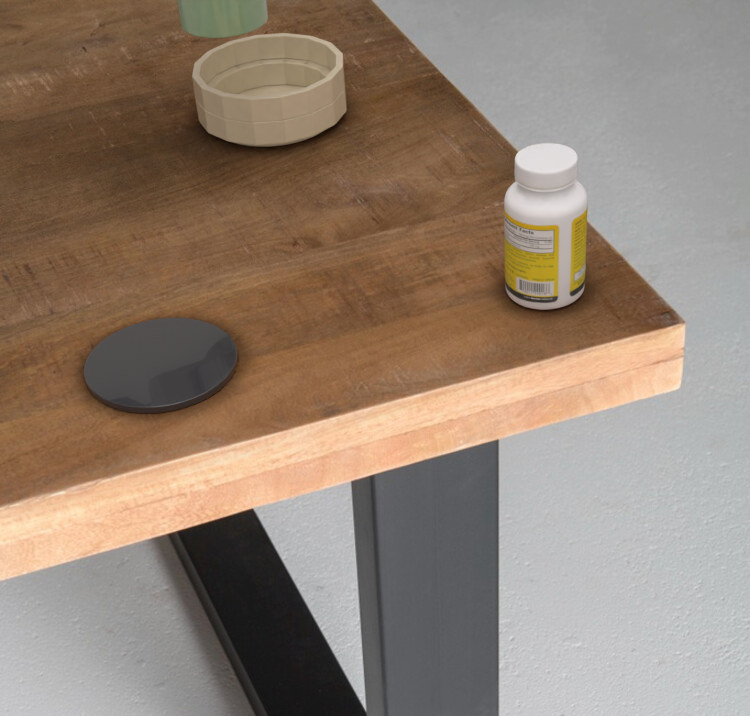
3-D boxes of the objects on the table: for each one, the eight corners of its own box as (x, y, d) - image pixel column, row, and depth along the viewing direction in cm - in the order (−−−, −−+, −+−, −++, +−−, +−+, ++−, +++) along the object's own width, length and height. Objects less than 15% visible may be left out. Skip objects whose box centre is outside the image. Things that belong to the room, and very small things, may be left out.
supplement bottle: (562, 261, 98) (567, 130, 92) (598, 300, 95) (605, 166, 88) (491, 280, 97) (490, 148, 90) (524, 320, 93) (526, 185, 87)
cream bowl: (228, 165, 112) (220, 111, 109) (182, 105, 120) (173, 53, 117) (370, 129, 115) (366, 75, 112) (315, 73, 123) (310, 21, 120)
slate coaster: (108, 430, 87) (106, 424, 87) (68, 349, 94) (66, 342, 94) (259, 385, 90) (258, 379, 90) (210, 308, 97) (208, 302, 96)
